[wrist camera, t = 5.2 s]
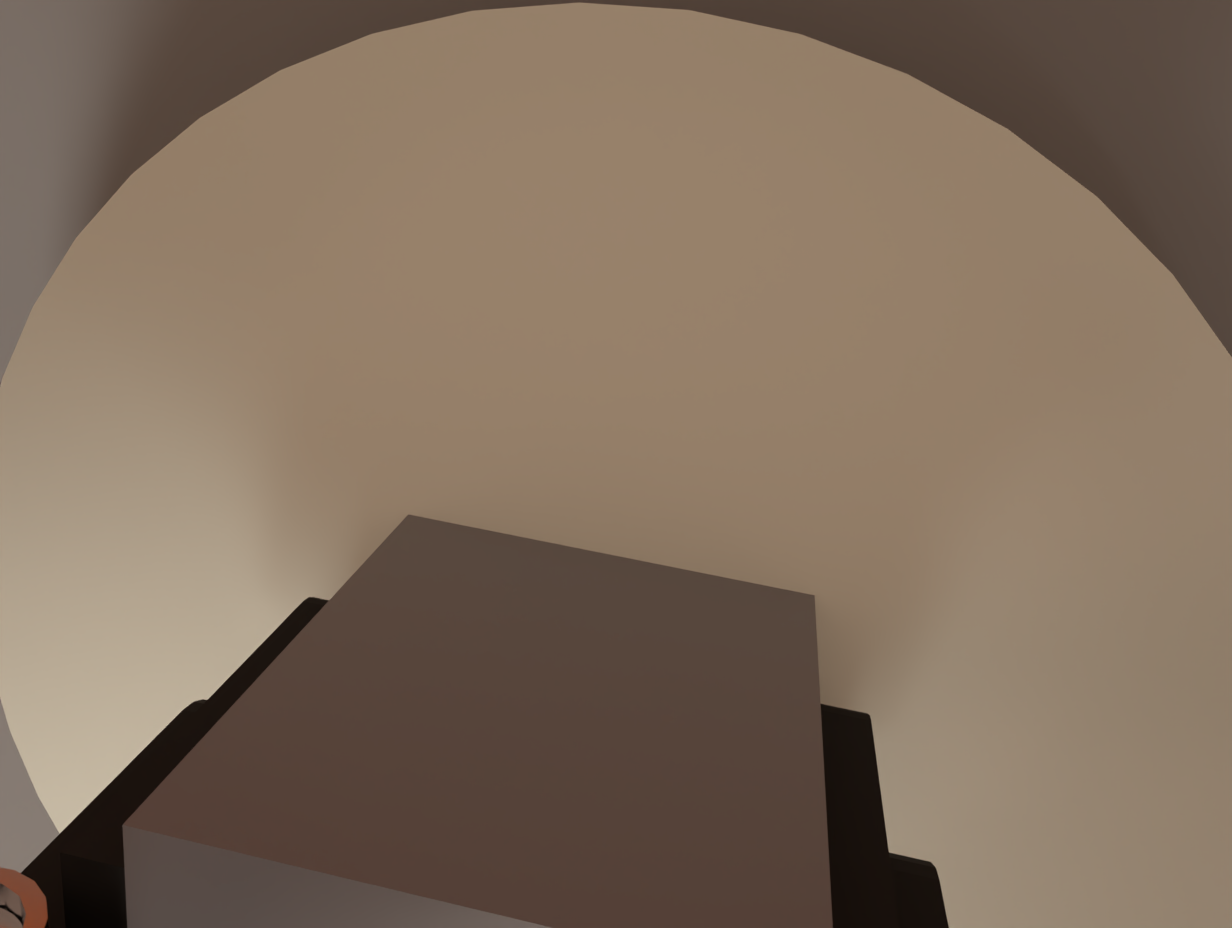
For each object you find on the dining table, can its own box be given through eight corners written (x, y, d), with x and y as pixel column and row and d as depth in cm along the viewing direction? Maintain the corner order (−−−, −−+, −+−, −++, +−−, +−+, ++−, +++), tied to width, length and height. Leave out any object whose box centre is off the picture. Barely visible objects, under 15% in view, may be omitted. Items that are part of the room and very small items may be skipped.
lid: (1548, 138, 9) (2804, 198, 3) (1045, 1249, 14) (1205, 1963, 9) (-29, -86, 10) (-944, -297, 5) (60, 994, 16) (-326, 1467, 10)
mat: (1760, -68, 9) (1801, -75, 9) (1132, 1167, 16) (1140, 1191, 16) (-158, -304, 11) (-190, -318, 11) (-2, 894, 18) (-18, 912, 18)
